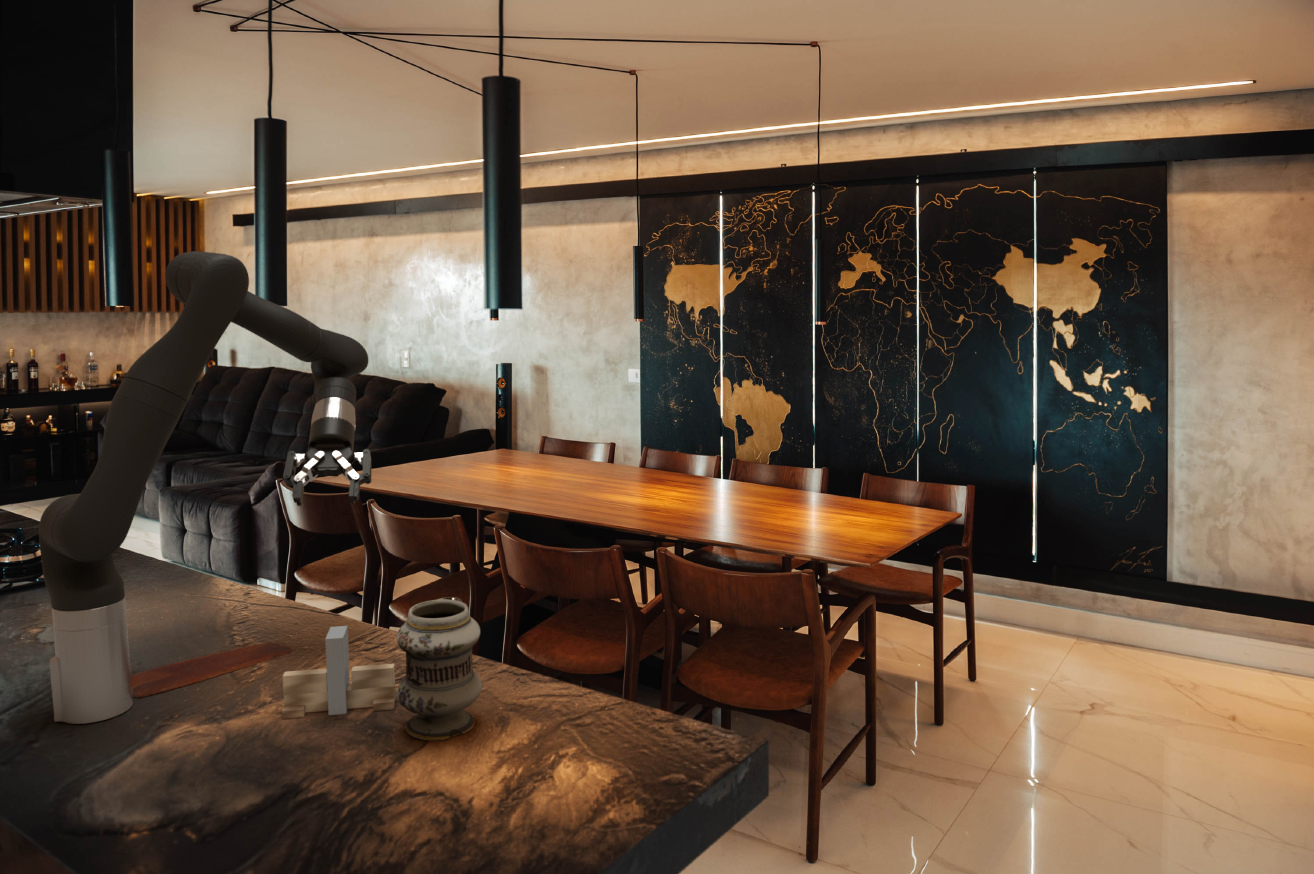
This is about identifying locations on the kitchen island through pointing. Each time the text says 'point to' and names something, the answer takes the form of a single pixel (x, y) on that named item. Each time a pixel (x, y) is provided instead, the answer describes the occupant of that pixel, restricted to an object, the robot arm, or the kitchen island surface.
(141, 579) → the kitchen island surface
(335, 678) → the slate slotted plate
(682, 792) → the kitchen island surface
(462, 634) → the apothecary jar
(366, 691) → the birch slotted board
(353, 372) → the robot arm
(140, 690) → the wooden tablet
